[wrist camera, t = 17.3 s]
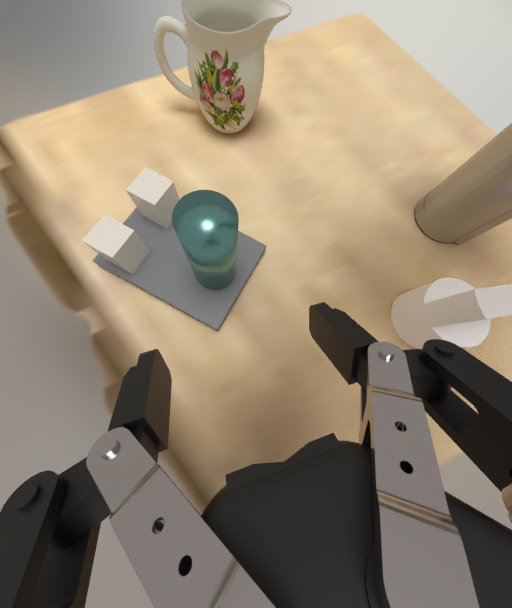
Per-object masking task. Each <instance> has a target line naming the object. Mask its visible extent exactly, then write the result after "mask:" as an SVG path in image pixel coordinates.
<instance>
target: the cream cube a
mask: <svg viewBox="0 0 512 608" xmlns="http://www.w3.org/2000/svg"><path fill="white" fill-rule="evenodd" d="M82 242H84V243H85V244H86V245H88V246H89V247H90V248H92V249H93V250H94V251H95V252H97V253H98V254H99V255H101V256H102V257H103V258H105V259H106V260H107V261H109V262H111V263H113V264H115V265H116V266H118V267H120V268H122V269H124V270H126V271H127V272H129V273H131V274H133V273H134V272H135V271H136V269H137V268H138V267H139V265H140V264H141V263H142V261H143V260H144V259H145V257H146V256H147V255H148V253H149V252H150V250H149V248H148V247H147V246H146V245H145V243H144V242H143V241H142V240H141V238H140V237H139V236H138V234H137V233H136V232H135V231H134V230H133V229H131V228H129V227H127V226H125V225H123V224H122V223H120V222H118V221H116V220H114V219H112V218H111V217H109V216H107V215H104V216H103V217H102V218H101V219H100V220H99V222H98V223H97V224H96V225H95V226H94V227H93V228H92V230H91V231H90V232H89V233H88V234H87V235H86V237H85V238H84V239H83V240H82Z"/></svg>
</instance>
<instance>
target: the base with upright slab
mask: <svg viewBox="0 0 512 608" xmlns="http://www.w3.org/2000/svg"><path fill="white" fill-rule="evenodd" d="M510 315H512V284H509V285H502V286H494V287H486V288H479V289H475V288H474V287H473V286H471V285H470V284H468V283H467V282H465V281H463V280H460V279H456V278H442V279H438V280H436V281H433V282H430V283H428V284H425V285H423V286H420V287H417V288H415V289H412V290H410V291H407V292H404V293H402V294H401V295H399V296H398V297H397V298H396V299H395V301H394V302H393V305H392V307H391V321H392V325H393V327H394V330H395V331H396V333H397V334H398V336H399V337H400V338H401V339H402V340H403V341H404V342H405V343H406V344H408V345H410V346H412V347H414V348H418V349H422V348H423V345H424V343H425V342H426V341H428V340H431V339H440V340H445V341H449V342H451V343H454V344H456V345H458V346H459V347H461V348H467V347H473V346H476V345H479V344H480V343H481V342H482V341H484V340H485V338H486V337H487V335H488V334H489V330H490V326H491V318H497V317H504V316H510Z"/></svg>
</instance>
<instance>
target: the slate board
mask: <svg viewBox="0 0 512 608" xmlns="http://www.w3.org/2000/svg"><path fill="white" fill-rule="evenodd" d="M123 225H125V226H127V227H129V228H131V229H133V230H134V231H135V232H136V233H137V234H138V236H139V237H140V238H141V240H142V241H143V242H144V243H145V245H146V246H147V247H148V248H149V250H150V252H149V253H148V255H147V256H146V257H145V259H144V260H143V261H142V263H141V264H140V265H139V267H138V268H137V269H136V271H135V272H134V273H133V274H131V273H129V272H127V271H126V270H124V269H122V268H120V267H118V266H116V265H115V264H113V263H111V262H109V261H107V260H106V259H105V258H103V257H102V256H101V255H99V254H98V255H97V256H96V257H95V258H94V260H93V262H95V263H96V264H98V265H99V266H101V267H103V268H105V269H106V270H108V271H110V272H112V273H114V274H115V275H117V276H119V277H121V278H123V279H124V280H126V281H128V282H130V283H132V284H134V285H135V286H137V287H139V288H141V289H143V290H144V291H146V292H148V293H150V294H152V295H154V296H155V297H157V298H159V299H161V300H163V301H164V302H166V303H168V304H170V305H172V306H174V307H175V308H177V309H179V310H181V311H183V312H184V313H186V314H188V315H190V316H192V317H193V318H195V319H197V320H199V321H201V322H203V323H204V324H206V325H208V326H210V327H212V328H213V329H215V330H217V331H218V330H219V329H220V327H221V325H222V323H223V322H224V320H225V318H226V317H227V315H228V313H229V311H230V310H231V308H232V306H233V305H234V303H235V301H236V299H237V298H238V296H239V294H240V293H241V291H242V289H243V287H244V286H245V284H246V282H247V281H248V279H249V277H250V276H251V274H252V272H253V270H254V269H255V267H256V265H257V264H258V262H259V260H260V258H261V257H262V255H263V253H264V252H265V249H266V245H264V244H262V243H260V242H258V241H256V240H254V239H253V238H251V237H249V236H247V235H245V234H243V233H241V232H239V231H238V239H237V258H236V275H235V278H234V280H233V281H232V283H231V284H230V285H229V286H227V287H226V288H224V289H220V290H210V289H207V288H205V287H203V286H202V285H201V284H200V283H199V282H198V280H197V278H196V276H195V274H194V272H193V270H192V267H191V265H190V263H189V261H188V259H187V256H186V254H185V252H184V250H183V248H182V245H181V243H180V241H179V239H178V237H177V234H176V232H175V230H174V227H173V224H172V223H171V224H170V225H169V227H168V228H167V229H166V228H165V227H163V226H161V225H159V224H157V223H155V222H153V221H152V220H150V219H148V218H146V217H144V216H143V215H142V214H141V212H140V211H139V209H138V208H136V209H135V210H134V211H133V212H132V214H131V215H130V216H129V217H128V218H127V220H126V221H125V222H124V223H123Z"/></svg>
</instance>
